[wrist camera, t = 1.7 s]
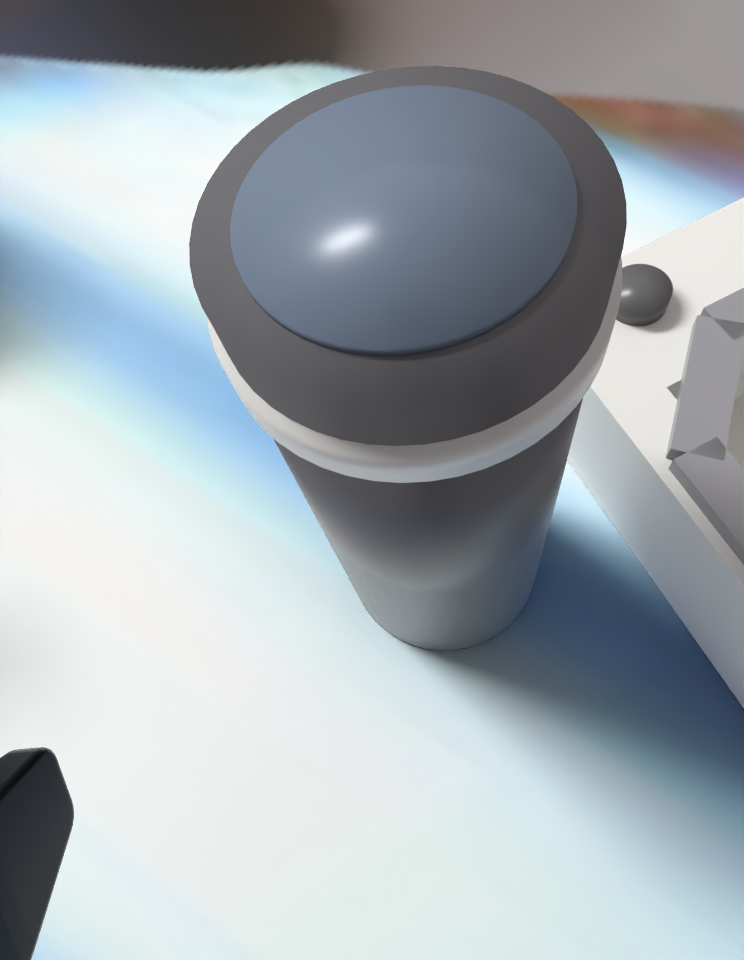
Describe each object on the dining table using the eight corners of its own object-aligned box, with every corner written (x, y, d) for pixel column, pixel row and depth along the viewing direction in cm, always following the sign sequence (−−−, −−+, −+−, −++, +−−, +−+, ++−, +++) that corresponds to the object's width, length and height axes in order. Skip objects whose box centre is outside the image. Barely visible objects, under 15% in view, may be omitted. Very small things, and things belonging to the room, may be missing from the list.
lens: (581, 597, 21) (750, 259, 8) (400, 692, 20) (276, 495, 8) (479, 441, 23) (485, -4, 11) (317, 522, 23) (119, 160, 10)
